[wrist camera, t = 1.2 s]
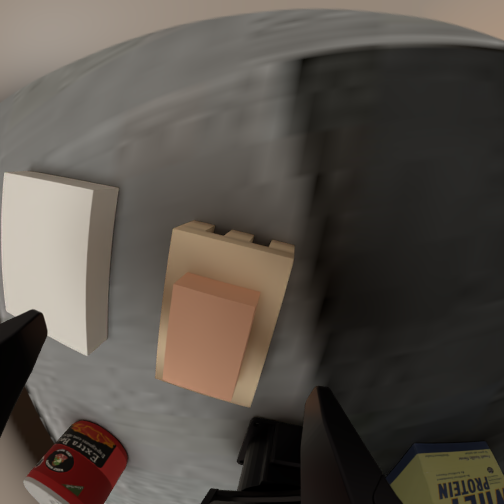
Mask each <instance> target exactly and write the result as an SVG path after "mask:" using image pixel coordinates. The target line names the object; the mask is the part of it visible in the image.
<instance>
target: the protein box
mask: <svg viewBox="0 0 504 504" xmlns="http://www.w3.org/2000/svg"><path fill="white" fill-rule="evenodd" d="M386 480H387V481H388V483H389V484H390V486H391V487H392V489H393V490H394V492H395V493H396V495H397V496H398V497H399V499H400V500H401V501H402V503H403V504H504V476H503V474H502V472H501V470H500V468H499V466H498V464H497V462H496V460H495V458H494V456H493V454H492V452H491V450H490V449H489V447H488V445H487V443H486V441H482V442H468V443H437V444H424V443H414V444H413V445H412V446H411V448H410V449H409V450H408V452H407V453H406V454H405V455H404V457H403V458H402V459H401V460H400V462H399V463H398V464H397V465H396V467H395V468H394V469H393V470H392V471H391V472H390V474H389V475H388V476H387V477H386Z"/></svg>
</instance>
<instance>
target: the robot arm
mask: <svg viewBox="0 0 504 504" xmlns="http://www.w3.org/2000/svg"><path fill="white" fill-rule="evenodd" d="M47 334H48V329H47V326H46V322H45V319H44V315H43V313H42V312H40V311H37V310H35V309H31V310H29V311H27V312H24V313H22V314H20V315H18V316H16V317H14V318H12V319H10V320H7V321H5V322H3V323H1V324H0V437H1V435H2V432H3V430H4V428H5V425H6V423H7V421H8V419H9V416H10V414H11V412H12V410H13V408H14V406H15V404H16V402H17V399H18V397H19V396H20V394H21V391H22V389H23V387H24V386H25V384H26V382H27V380H28V378H29V376H30V374H31V372H32V370H33V368H34V365H35V363H36V360H37V358H38V356H39V353H40V351H41V349H42V346H43V344H44V342H45V340H46V337H47ZM256 423H259V424H256ZM237 463H238V464H240V465H243V468H242V472H241V477H240V481H239V485H238V489H237V491H230V490H219V489H213V488H211V489H210V490H209V492H208V493H207V495H206V496H205V498H204V499H203V501H202V502H201V504H403V503H402V501H401V500H400V499H399V497H398V496H397V495H396V493H395V492H394V490H393V489H392V487H391V486H390V484H389V483H388V481H387V480H386V478H385V476H384V475H382V472H381V470H380V469H379V467H378V465H377V464H376V462H375V461H374V459H373V457H372V456H371V454H370V453H369V451H368V449H367V448H366V446H365V445H364V443H363V441H362V440H361V438H360V437H359V435H358V433H357V432H356V430H355V428H354V427H353V425H352V424H351V422H350V420H349V419H348V417H347V416H346V414H345V412H344V411H343V409H342V408H341V406H340V404H339V403H338V401H337V399H336V398H335V396H334V395H333V393H332V391H331V390H330V389H329V388H328V387H324V386H316V387H315V388H314V389H313V391H312V392H311V394H310V396H309V397H308V399H307V401H306V404H305V411H304V421H303V427H301V426H295V425H290V424H285V423H280V422H276V421H271V420H267V419H262V418H258V417H255V418H253V419H252V420H251V422H250V425H249V428H248V430H247V433H246V436H245V439H244V442H243V445H242V447H241V450H240V453H239V456H238V459H237Z"/></svg>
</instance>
